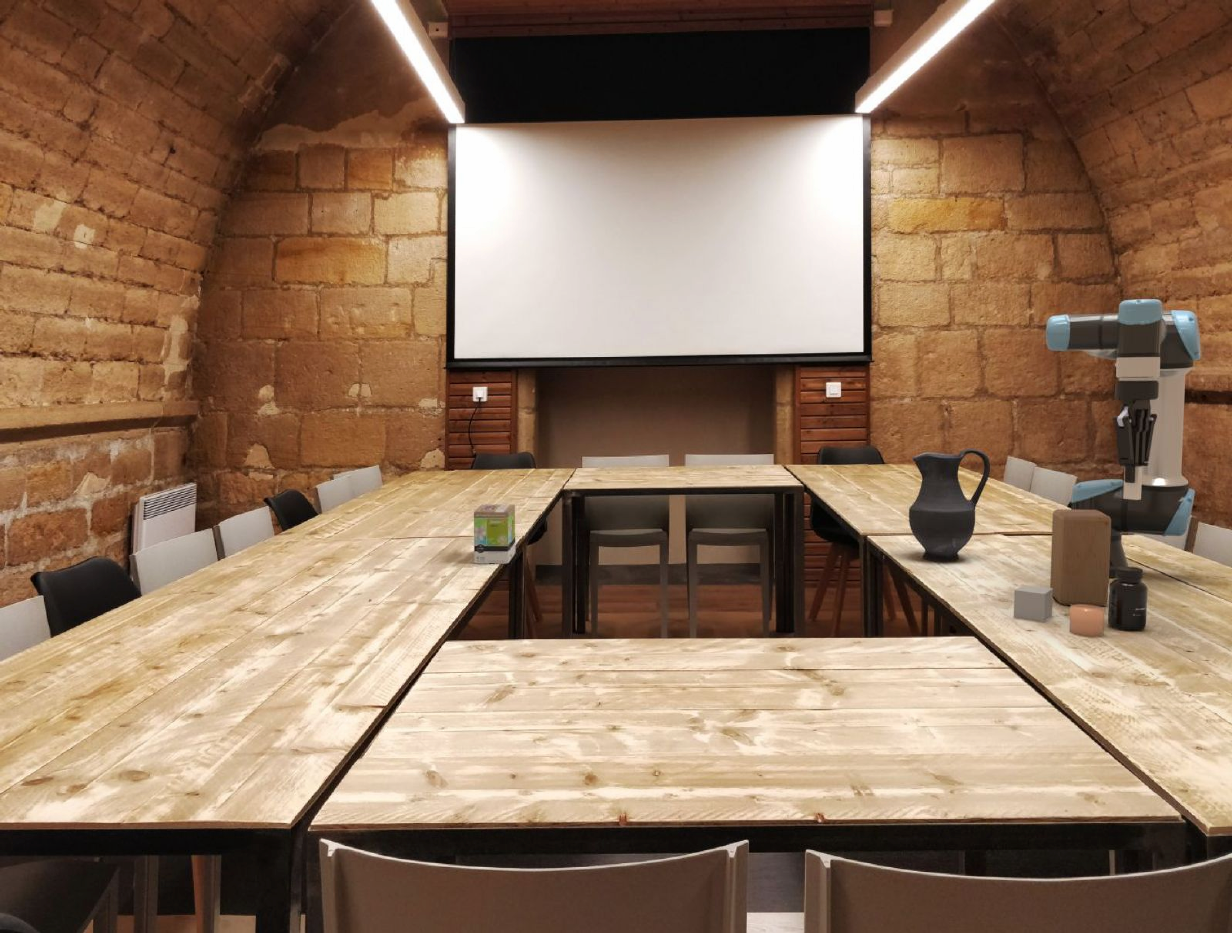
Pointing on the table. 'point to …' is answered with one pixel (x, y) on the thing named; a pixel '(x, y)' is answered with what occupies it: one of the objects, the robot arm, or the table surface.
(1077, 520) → the wooden block
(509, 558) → the tea box
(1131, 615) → the supplement bottle
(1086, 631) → the terracotta puck
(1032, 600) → the grey cube
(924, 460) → the pitcher
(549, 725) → the table surface
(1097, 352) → the robot arm
